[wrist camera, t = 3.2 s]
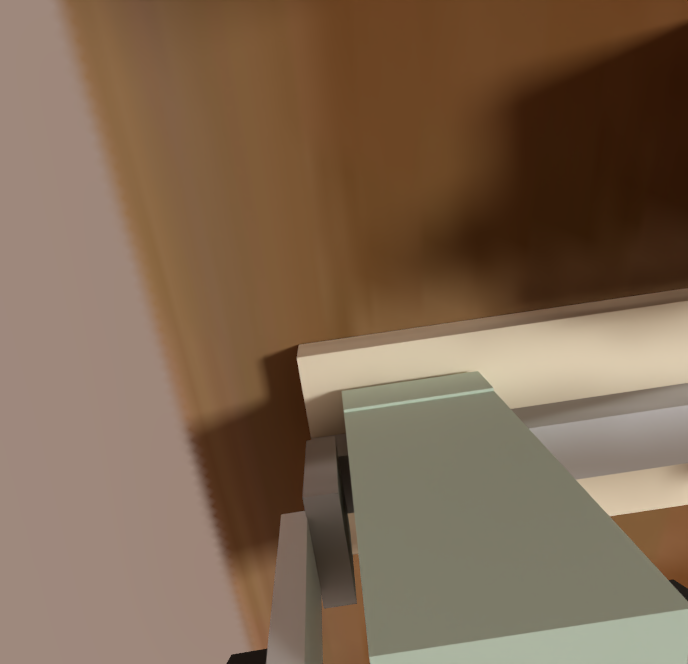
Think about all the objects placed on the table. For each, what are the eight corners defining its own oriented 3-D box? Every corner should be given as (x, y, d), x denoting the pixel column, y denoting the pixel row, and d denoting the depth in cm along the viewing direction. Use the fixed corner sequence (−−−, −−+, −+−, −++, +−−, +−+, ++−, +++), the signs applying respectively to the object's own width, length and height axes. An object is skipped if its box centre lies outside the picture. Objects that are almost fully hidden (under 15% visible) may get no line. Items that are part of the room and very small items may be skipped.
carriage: (341, 391, 16) (368, 652, 6) (477, 370, 16) (694, 603, 7) (362, 530, 17) (406, 888, 8) (485, 512, 17) (663, 849, 8)
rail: (298, 344, 17) (286, 417, 11) (798, 271, 17) (1041, 306, 11) (331, 531, 20) (335, 668, 14) (765, 466, 20) (949, 575, 14)
